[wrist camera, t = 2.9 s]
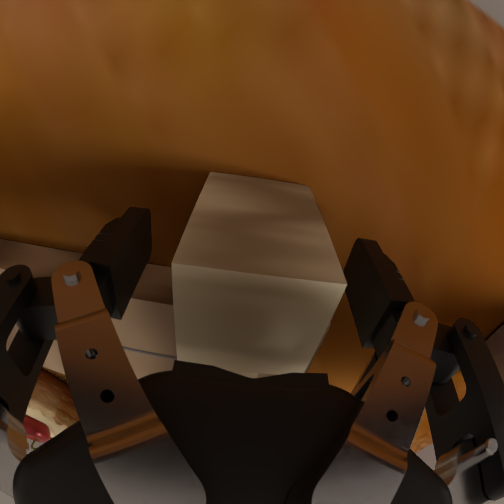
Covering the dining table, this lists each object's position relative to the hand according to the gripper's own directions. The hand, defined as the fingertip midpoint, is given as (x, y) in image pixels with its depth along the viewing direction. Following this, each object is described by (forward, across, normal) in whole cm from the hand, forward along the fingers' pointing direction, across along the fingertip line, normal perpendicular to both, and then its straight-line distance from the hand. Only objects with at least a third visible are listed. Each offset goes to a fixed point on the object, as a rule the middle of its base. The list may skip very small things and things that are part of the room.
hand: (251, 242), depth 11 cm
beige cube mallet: (+2, 0, +3) cm, 3 cm away
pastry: (+2, +20, +24) cm, 31 cm away
